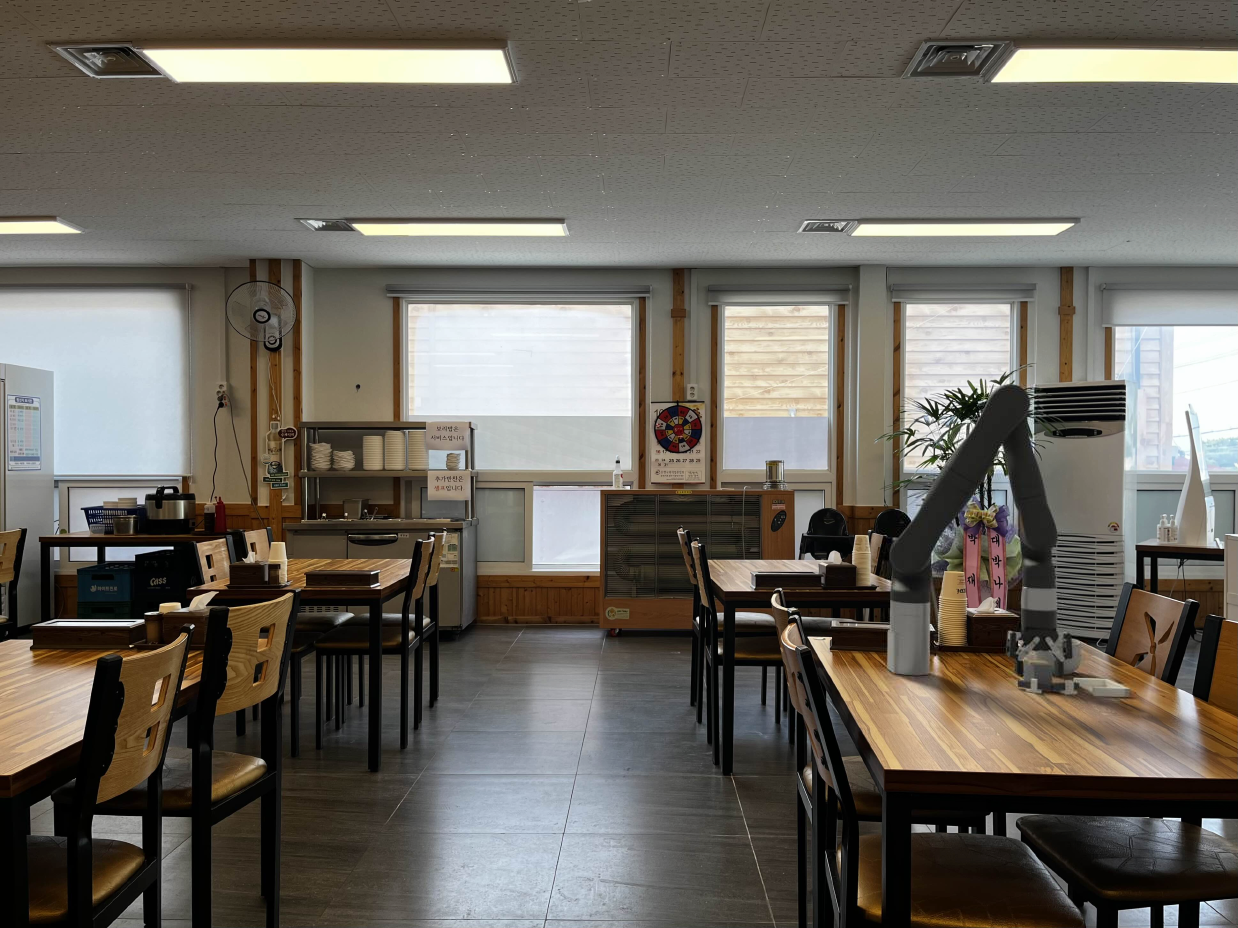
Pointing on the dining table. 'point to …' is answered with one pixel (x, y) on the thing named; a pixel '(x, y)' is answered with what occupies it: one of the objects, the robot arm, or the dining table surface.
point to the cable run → (1046, 685)
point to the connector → (1037, 670)
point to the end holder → (1103, 687)
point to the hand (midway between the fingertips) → (1039, 676)
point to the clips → (1068, 690)
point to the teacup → (1069, 664)
